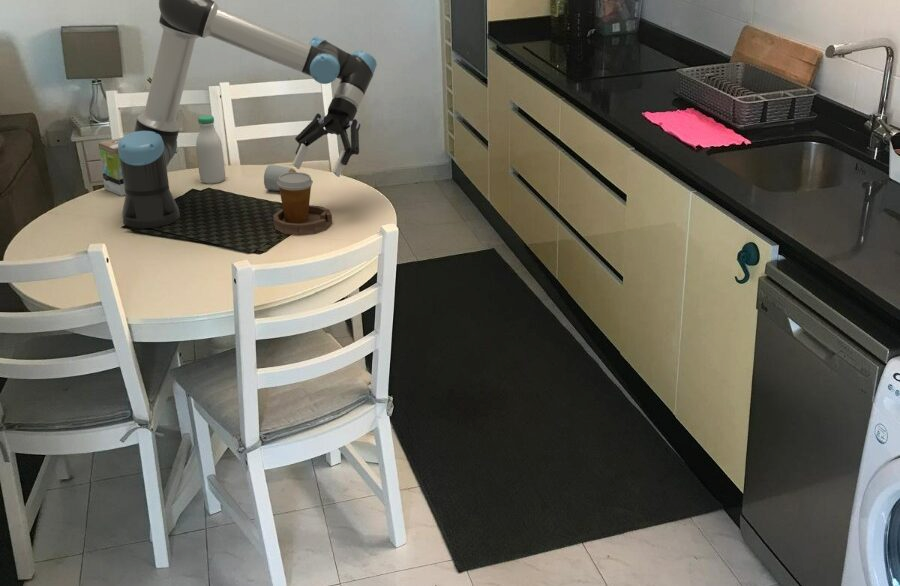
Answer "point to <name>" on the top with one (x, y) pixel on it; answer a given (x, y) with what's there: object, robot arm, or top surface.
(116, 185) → the tea box
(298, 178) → the disposable coffee cup
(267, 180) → the ceramic mug
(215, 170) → the milk bottle
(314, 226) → the round brown ashtray
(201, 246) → the top surface
